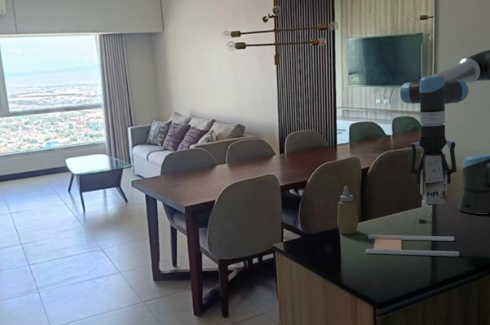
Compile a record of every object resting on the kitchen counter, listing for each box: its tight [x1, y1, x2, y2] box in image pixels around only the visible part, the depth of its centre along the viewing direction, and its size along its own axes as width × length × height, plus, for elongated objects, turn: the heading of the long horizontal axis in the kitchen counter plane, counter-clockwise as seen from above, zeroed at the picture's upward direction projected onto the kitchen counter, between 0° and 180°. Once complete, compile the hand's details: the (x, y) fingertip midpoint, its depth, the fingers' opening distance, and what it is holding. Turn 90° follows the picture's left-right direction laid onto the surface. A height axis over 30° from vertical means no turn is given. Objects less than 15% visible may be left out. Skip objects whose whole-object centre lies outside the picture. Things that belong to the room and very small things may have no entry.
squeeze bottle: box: [336, 185, 359, 235], centre depth 189 cm, size 8×8×18 cm
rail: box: [365, 234, 460, 257], centre depth 171 cm, size 29×16×1 cm, turn 73°
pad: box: [373, 239, 402, 250], centre depth 173 cm, size 9×11×1 cm
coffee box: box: [420, 151, 447, 205], centre depth 165 cm, size 9×6×16 cm
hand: (433, 193), depth 166 cm, fingers closed on coffee box, 7 cm apart
